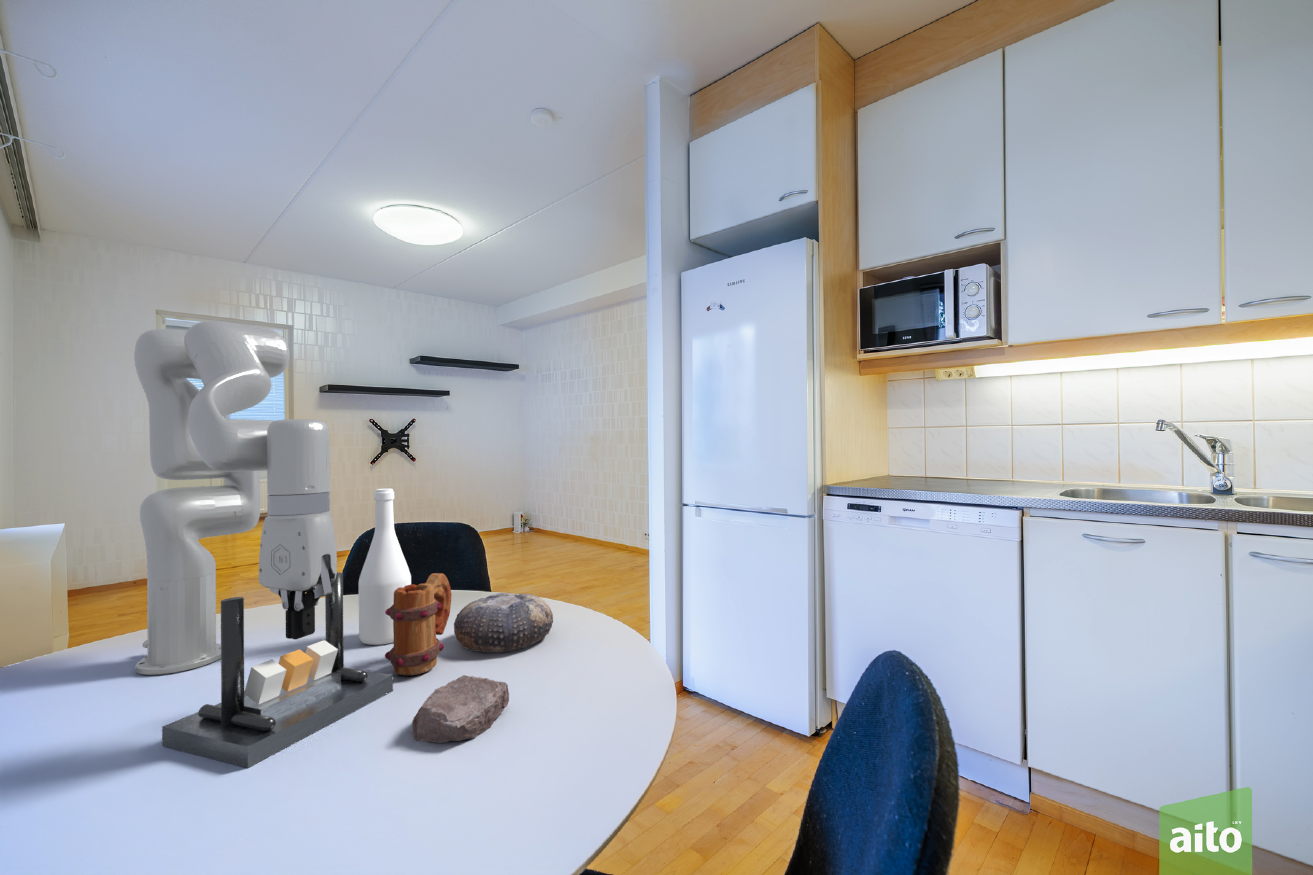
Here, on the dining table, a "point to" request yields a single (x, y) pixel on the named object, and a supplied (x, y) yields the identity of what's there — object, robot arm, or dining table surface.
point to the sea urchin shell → (503, 622)
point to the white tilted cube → (265, 681)
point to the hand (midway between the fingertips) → (300, 635)
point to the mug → (419, 624)
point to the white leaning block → (321, 659)
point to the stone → (460, 710)
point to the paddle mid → (295, 669)
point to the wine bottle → (381, 575)
